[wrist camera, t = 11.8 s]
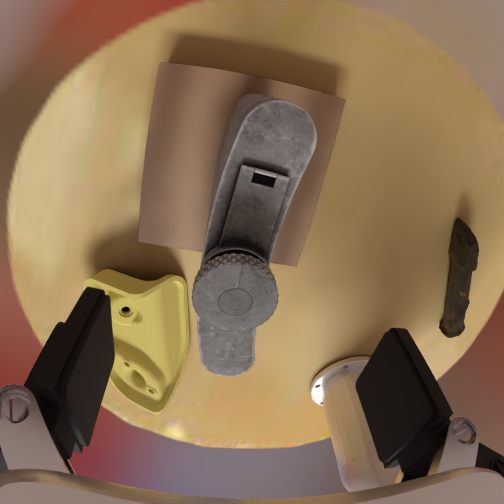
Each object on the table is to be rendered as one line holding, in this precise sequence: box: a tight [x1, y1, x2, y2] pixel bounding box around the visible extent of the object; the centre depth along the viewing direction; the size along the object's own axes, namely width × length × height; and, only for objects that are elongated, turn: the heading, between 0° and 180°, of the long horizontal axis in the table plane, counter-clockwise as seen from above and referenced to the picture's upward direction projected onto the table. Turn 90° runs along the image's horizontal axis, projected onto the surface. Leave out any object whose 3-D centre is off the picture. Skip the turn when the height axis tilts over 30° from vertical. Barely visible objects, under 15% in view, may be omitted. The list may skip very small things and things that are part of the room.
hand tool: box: [439, 218, 479, 338], centre depth 37 cm, size 19×4×5 cm, turn 14°
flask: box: [192, 93, 317, 376], centre depth 20 cm, size 4×14×18 cm, turn 168°
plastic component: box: [83, 269, 189, 415], centre depth 38 cm, size 20×7×10 cm
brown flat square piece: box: [138, 62, 345, 267], centre depth 29 cm, size 16×17×3 cm
